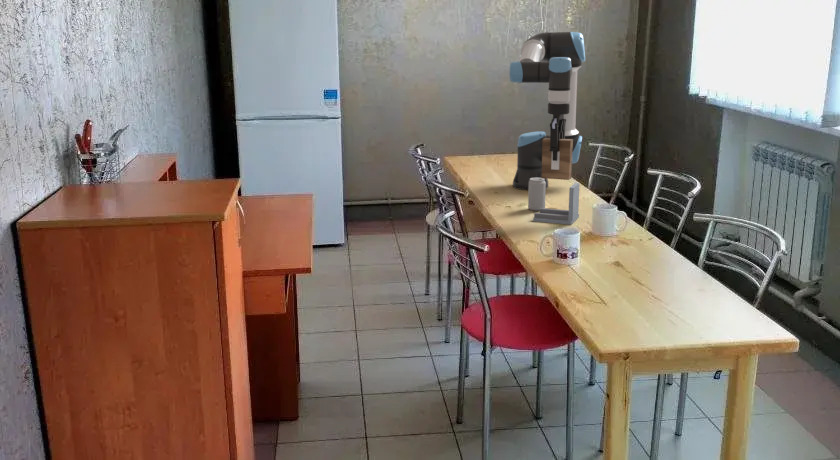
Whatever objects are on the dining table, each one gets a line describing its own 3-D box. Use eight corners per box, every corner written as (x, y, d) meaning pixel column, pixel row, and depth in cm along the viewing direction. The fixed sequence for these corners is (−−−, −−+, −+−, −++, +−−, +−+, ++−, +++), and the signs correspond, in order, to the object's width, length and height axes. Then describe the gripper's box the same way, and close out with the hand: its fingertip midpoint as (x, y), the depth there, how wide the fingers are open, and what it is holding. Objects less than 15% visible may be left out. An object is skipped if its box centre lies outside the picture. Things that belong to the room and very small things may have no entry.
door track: (541, 213, 295) (542, 179, 292) (579, 216, 289) (580, 182, 286) (532, 221, 284) (533, 185, 281) (571, 224, 279) (572, 188, 275)
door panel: (544, 176, 287) (545, 137, 283) (571, 178, 283) (572, 139, 279) (541, 178, 284) (542, 139, 280) (569, 180, 280) (570, 140, 276)
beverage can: (544, 211, 297) (545, 180, 294) (527, 211, 299) (528, 180, 295) (545, 207, 303) (546, 177, 300) (528, 207, 305) (529, 176, 301)
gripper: (554, 99, 285) (552, 163, 291) (542, 104, 270) (540, 171, 276) (574, 100, 282) (572, 165, 288) (563, 105, 267) (561, 173, 273)
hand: (556, 168), depth 282 cm, fingers closed on door panel, 3 cm apart
